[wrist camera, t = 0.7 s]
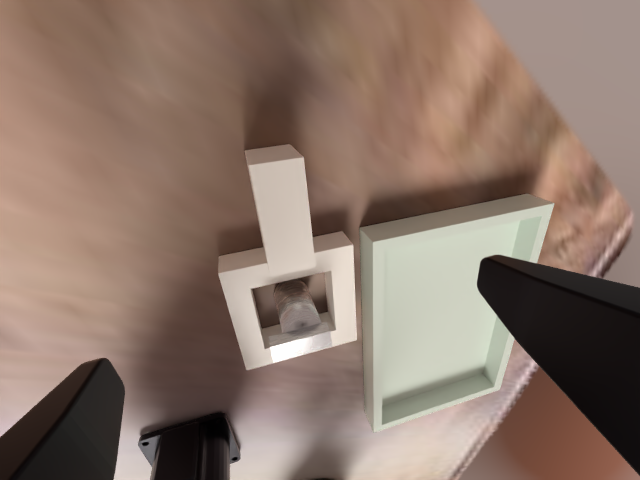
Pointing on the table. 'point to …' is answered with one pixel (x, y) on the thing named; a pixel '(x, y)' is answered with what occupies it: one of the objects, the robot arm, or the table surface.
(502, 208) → the tray
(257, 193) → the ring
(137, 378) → the table surface
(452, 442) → the table surface
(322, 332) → the grey knob with bar
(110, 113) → the table surface
